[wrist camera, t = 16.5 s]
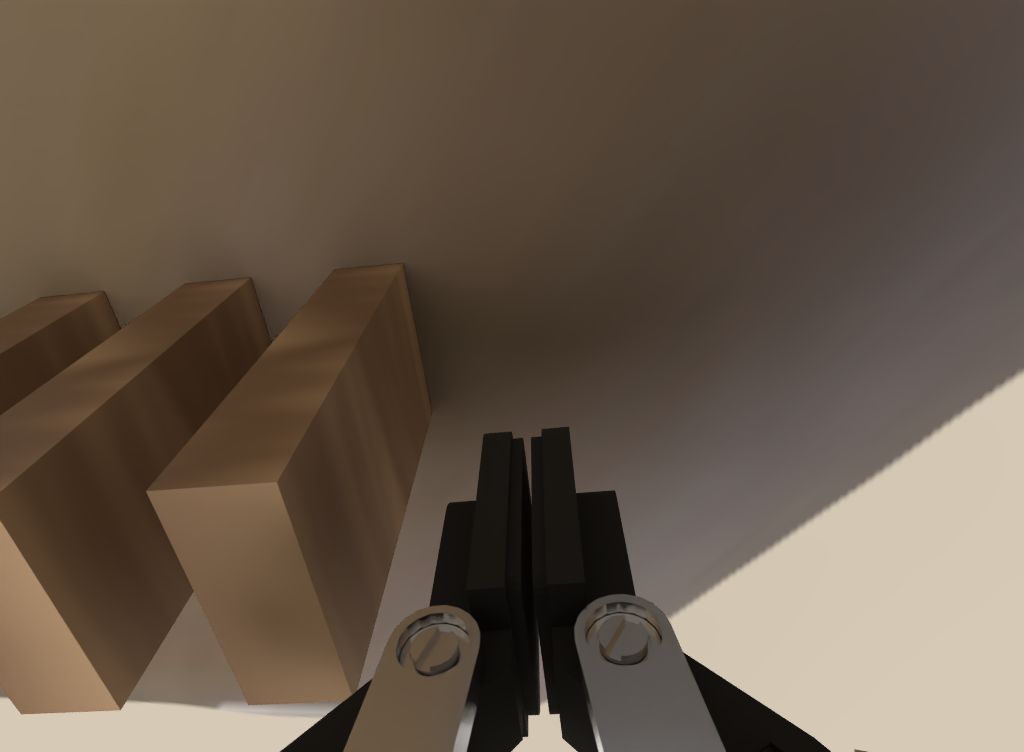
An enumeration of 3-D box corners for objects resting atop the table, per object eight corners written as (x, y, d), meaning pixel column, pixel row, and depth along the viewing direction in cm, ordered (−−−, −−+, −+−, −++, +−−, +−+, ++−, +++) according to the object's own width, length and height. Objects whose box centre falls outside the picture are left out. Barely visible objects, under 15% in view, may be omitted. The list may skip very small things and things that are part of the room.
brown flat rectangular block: (250, 277, 18) (-13, 501, 9) (296, 422, 21) (120, 710, 12) (185, 284, 18) (-133, 510, 10) (238, 426, 21) (21, 714, 12)
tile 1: (403, 263, 18) (276, 482, 9) (432, 412, 20) (354, 700, 12) (334, 269, 18) (146, 491, 9) (371, 417, 20) (248, 705, 12)
